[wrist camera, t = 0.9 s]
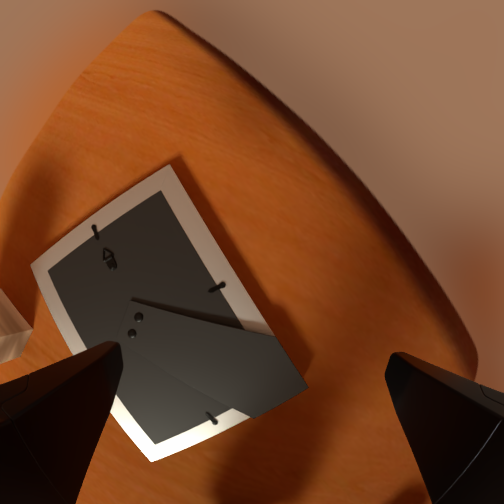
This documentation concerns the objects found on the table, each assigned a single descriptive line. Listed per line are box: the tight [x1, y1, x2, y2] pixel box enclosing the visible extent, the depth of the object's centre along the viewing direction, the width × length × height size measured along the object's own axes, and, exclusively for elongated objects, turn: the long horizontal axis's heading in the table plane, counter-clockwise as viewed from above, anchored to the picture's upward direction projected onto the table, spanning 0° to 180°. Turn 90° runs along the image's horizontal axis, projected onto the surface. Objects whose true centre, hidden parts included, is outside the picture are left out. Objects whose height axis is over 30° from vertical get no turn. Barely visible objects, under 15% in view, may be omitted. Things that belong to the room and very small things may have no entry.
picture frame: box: [30, 164, 309, 462], centre depth 22 cm, size 16×3×21 cm
